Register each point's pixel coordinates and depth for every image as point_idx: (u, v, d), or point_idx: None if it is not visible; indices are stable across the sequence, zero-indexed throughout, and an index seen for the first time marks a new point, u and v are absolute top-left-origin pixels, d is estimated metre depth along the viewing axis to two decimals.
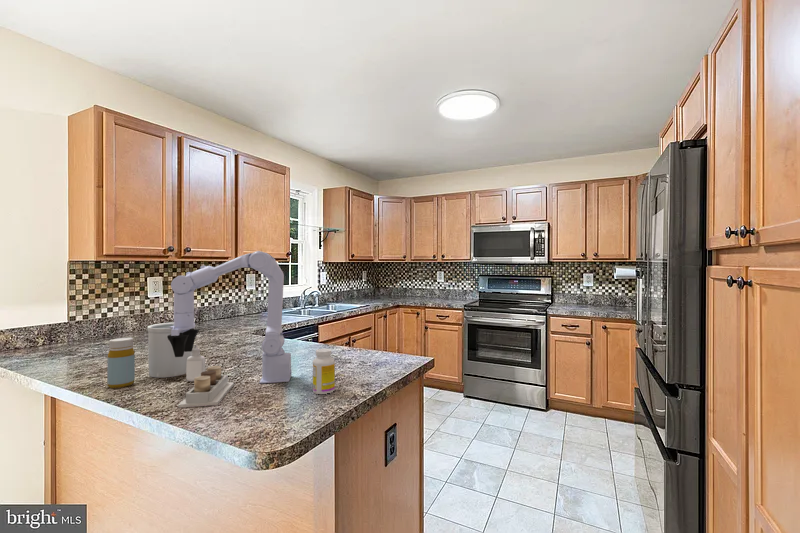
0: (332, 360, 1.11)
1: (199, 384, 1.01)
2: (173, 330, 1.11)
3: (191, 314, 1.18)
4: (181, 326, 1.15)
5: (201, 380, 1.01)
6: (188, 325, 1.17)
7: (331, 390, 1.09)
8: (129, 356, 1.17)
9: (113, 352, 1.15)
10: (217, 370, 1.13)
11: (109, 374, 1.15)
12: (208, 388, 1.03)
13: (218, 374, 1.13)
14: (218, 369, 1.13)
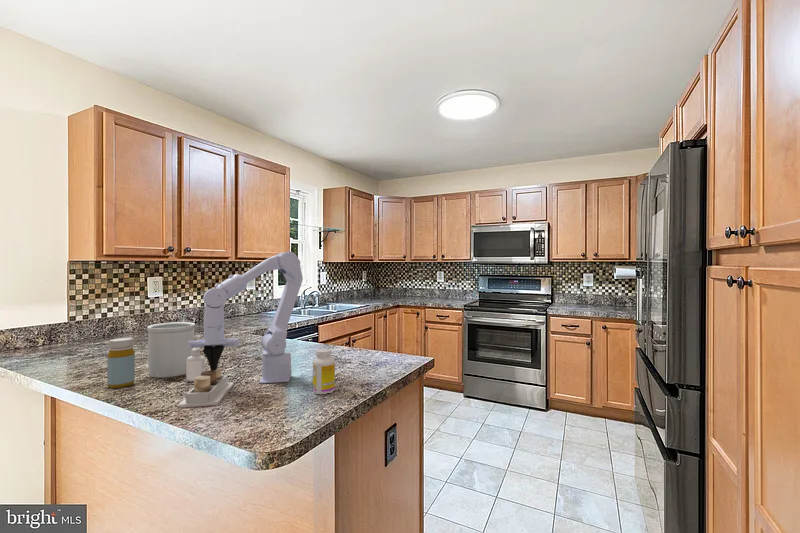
0: (332, 360, 1.11)
1: (199, 384, 1.01)
2: None
3: (207, 329, 1.11)
4: (203, 340, 1.13)
5: (201, 380, 1.01)
6: (205, 340, 1.12)
7: (331, 390, 1.09)
8: (129, 356, 1.17)
9: (113, 352, 1.15)
10: (217, 372, 1.13)
11: (109, 374, 1.15)
12: (208, 388, 1.03)
13: (218, 376, 1.13)
14: (218, 371, 1.13)
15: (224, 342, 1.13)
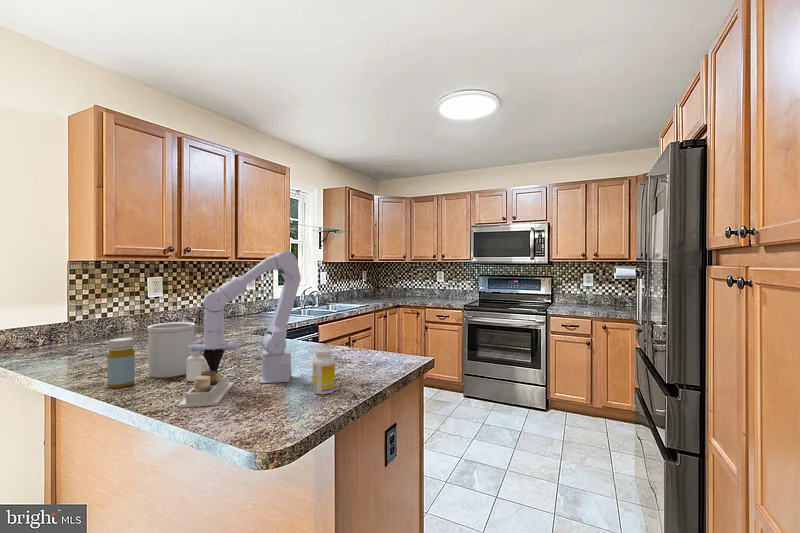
0: (332, 360, 1.11)
1: (199, 384, 1.01)
2: None
3: (207, 334, 1.11)
4: (203, 344, 1.13)
5: (201, 380, 1.01)
6: (205, 344, 1.12)
7: (331, 390, 1.09)
8: (129, 356, 1.17)
9: (113, 352, 1.15)
10: (217, 377, 1.13)
11: (109, 374, 1.15)
12: (208, 388, 1.03)
13: None
14: (218, 376, 1.13)
15: (224, 346, 1.13)
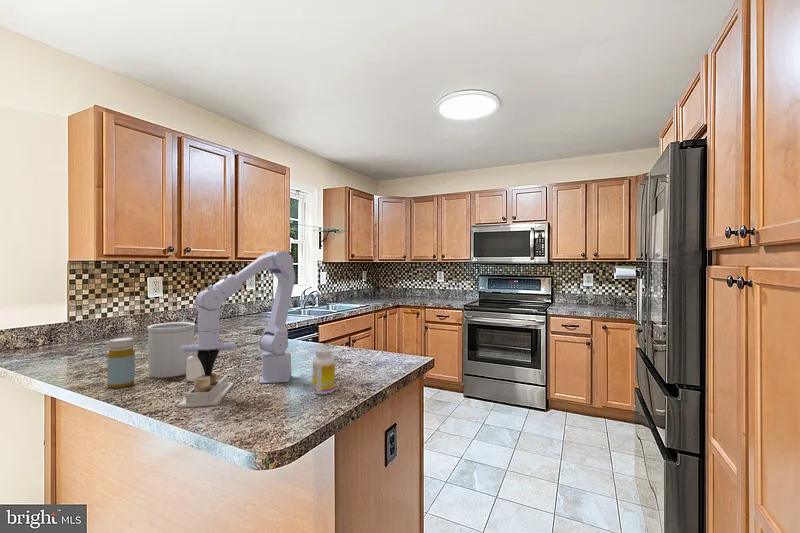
0: (332, 360, 1.11)
1: (199, 384, 1.01)
2: None
3: (202, 333, 1.06)
4: (197, 344, 1.07)
5: (201, 380, 1.01)
6: (199, 345, 1.06)
7: (331, 390, 1.09)
8: (129, 356, 1.17)
9: (113, 352, 1.15)
10: (217, 377, 1.13)
11: (109, 374, 1.15)
12: (208, 388, 1.03)
13: None
14: (218, 376, 1.13)
15: (220, 346, 1.08)
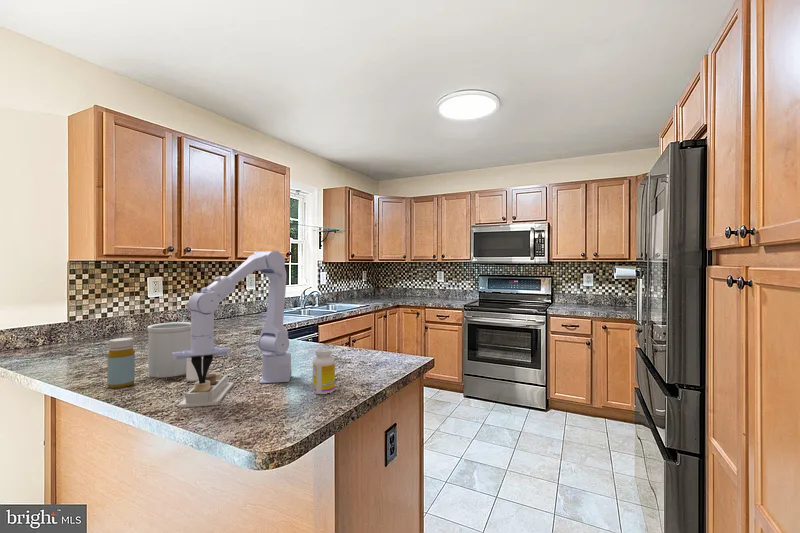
0: (332, 360, 1.11)
1: (199, 389, 1.01)
2: None
3: (197, 338, 1.00)
4: (190, 350, 1.02)
5: (201, 385, 1.01)
6: (194, 351, 1.01)
7: (331, 390, 1.09)
8: (129, 356, 1.17)
9: (113, 352, 1.15)
10: (217, 377, 1.13)
11: (109, 374, 1.15)
12: None
13: None
14: (218, 376, 1.13)
15: (216, 351, 1.03)
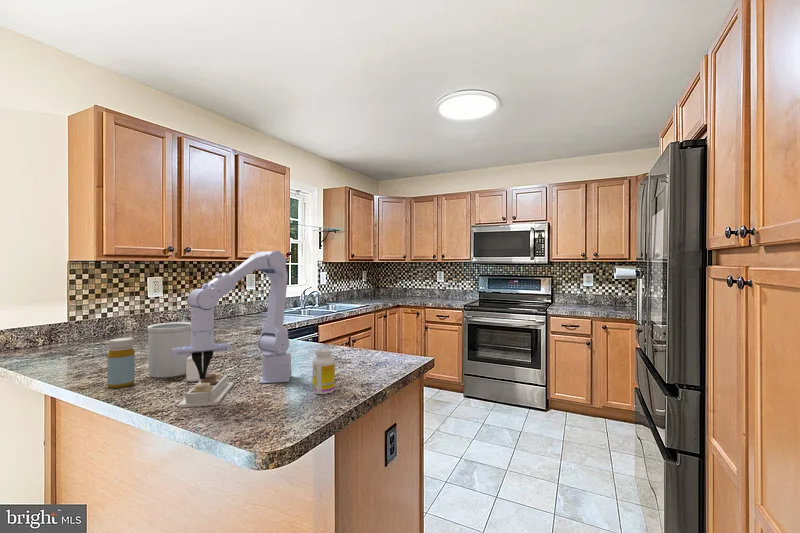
0: (332, 360, 1.11)
1: (199, 391, 1.01)
2: None
3: (197, 334, 1.00)
4: (190, 346, 1.02)
5: (201, 387, 1.01)
6: (194, 346, 1.01)
7: (331, 390, 1.09)
8: (129, 356, 1.17)
9: (113, 352, 1.15)
10: (217, 377, 1.13)
11: (109, 374, 1.15)
12: None
13: None
14: (218, 376, 1.13)
15: (216, 347, 1.03)
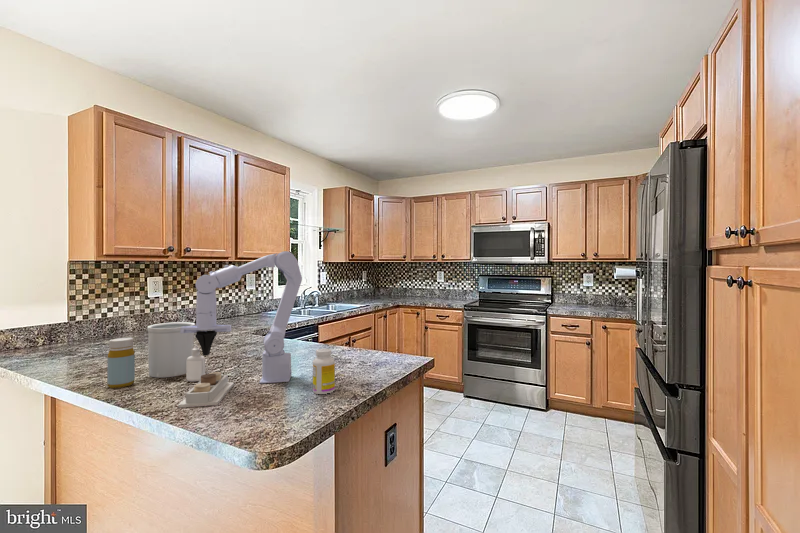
0: (332, 360, 1.11)
1: (199, 391, 1.01)
2: None
3: (200, 315, 1.13)
4: (196, 325, 1.15)
5: (201, 387, 1.01)
6: (197, 326, 1.14)
7: (331, 390, 1.09)
8: (129, 356, 1.17)
9: (113, 352, 1.15)
10: (217, 377, 1.13)
11: (109, 374, 1.15)
12: None
13: None
14: (218, 376, 1.13)
15: (216, 328, 1.15)
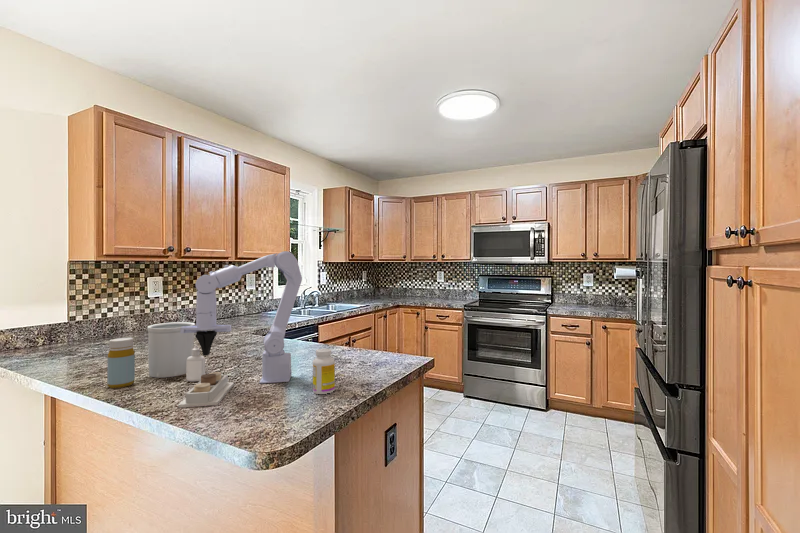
0: (332, 360, 1.11)
1: (199, 391, 1.01)
2: None
3: (200, 315, 1.13)
4: (196, 325, 1.15)
5: (201, 387, 1.01)
6: (197, 326, 1.14)
7: (331, 390, 1.09)
8: (129, 356, 1.17)
9: (113, 352, 1.15)
10: (217, 377, 1.13)
11: (109, 374, 1.15)
12: None
13: None
14: (218, 376, 1.13)
15: (216, 328, 1.15)
